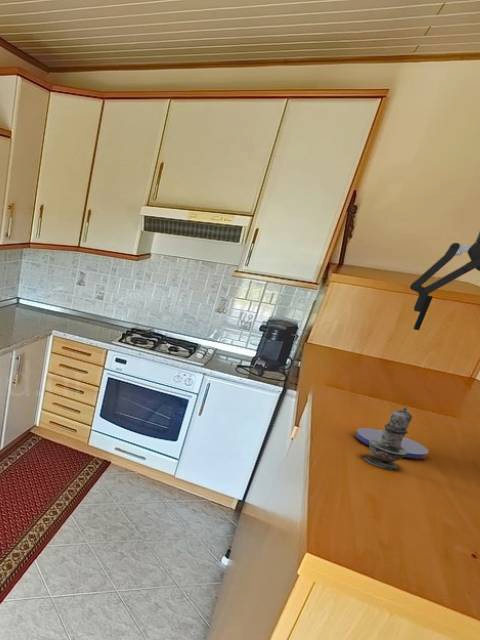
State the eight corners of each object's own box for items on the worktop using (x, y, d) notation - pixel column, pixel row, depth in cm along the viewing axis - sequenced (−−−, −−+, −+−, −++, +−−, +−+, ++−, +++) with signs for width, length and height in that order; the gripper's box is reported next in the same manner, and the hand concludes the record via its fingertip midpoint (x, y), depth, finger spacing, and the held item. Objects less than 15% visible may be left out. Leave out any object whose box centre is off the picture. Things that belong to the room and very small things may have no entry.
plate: (441, 462, 98) (444, 456, 98) (386, 458, 97) (389, 452, 97) (390, 436, 110) (393, 430, 109) (340, 432, 109) (343, 426, 108)
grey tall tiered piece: (378, 455, 98) (403, 401, 94) (407, 470, 93) (435, 413, 89) (354, 455, 97) (378, 399, 93) (382, 470, 92) (409, 412, 88)
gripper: (423, 211, 89) (379, 325, 96) (636, 224, 74) (566, 356, 81) (421, 213, 95) (379, 321, 102) (618, 226, 80) (554, 350, 87)
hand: (462, 337), depth 92 cm, fingers open, 13 cm apart
